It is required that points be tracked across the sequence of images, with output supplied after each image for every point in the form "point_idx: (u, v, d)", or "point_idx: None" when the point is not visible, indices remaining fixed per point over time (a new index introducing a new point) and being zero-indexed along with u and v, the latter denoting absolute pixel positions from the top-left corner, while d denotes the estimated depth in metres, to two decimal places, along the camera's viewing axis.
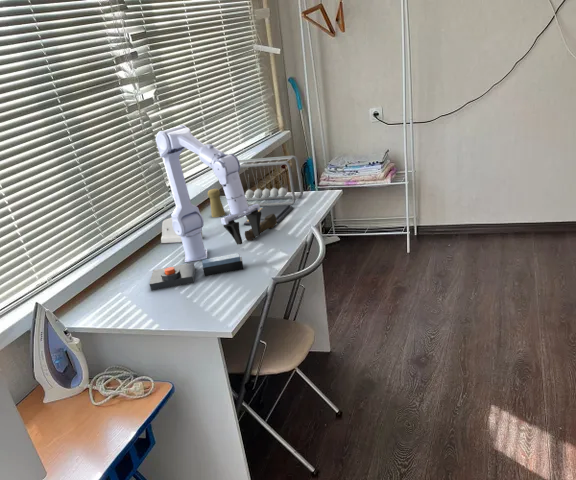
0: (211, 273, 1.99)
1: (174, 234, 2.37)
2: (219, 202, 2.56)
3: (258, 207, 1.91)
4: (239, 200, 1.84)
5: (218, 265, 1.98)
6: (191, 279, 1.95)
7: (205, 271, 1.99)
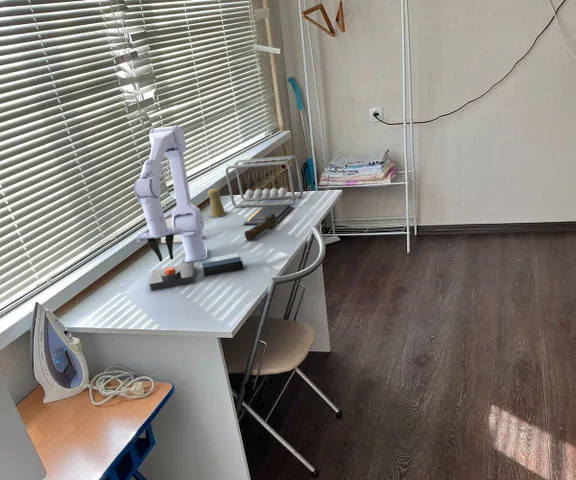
0: (211, 273, 1.99)
1: None
2: (219, 202, 2.56)
3: (180, 231, 1.89)
4: (152, 224, 1.85)
5: (218, 265, 1.98)
6: (191, 279, 1.95)
7: (205, 271, 1.99)
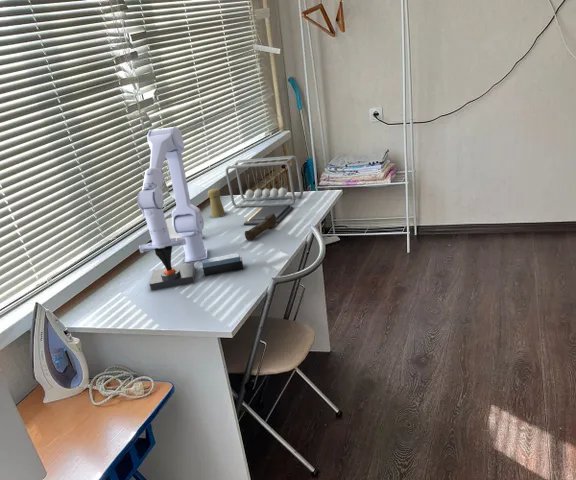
0: (211, 273, 1.99)
1: (174, 234, 2.37)
2: (219, 202, 2.56)
3: (182, 242, 1.91)
4: (155, 234, 1.87)
5: (218, 265, 1.98)
6: (191, 279, 1.95)
7: (205, 271, 1.99)
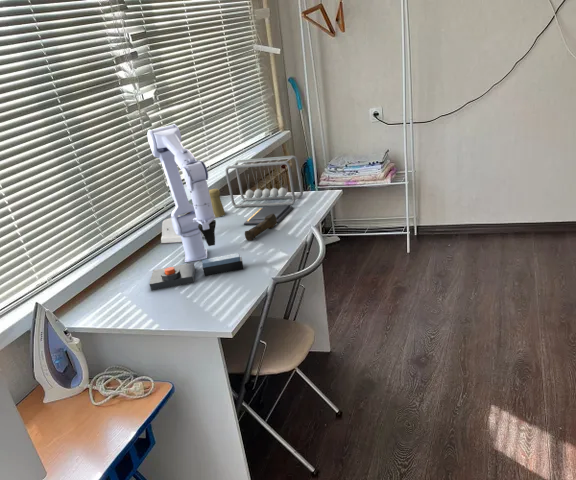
0: (211, 273, 1.99)
1: (174, 234, 2.37)
2: (219, 202, 2.56)
3: None
4: None
5: (218, 265, 1.98)
6: (191, 279, 1.95)
7: (205, 271, 1.99)
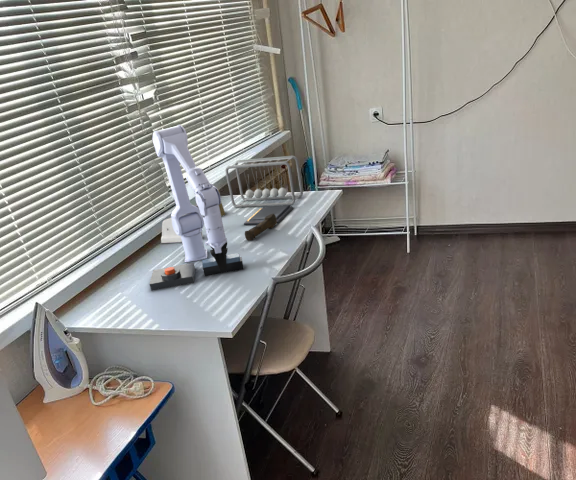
0: (211, 273, 1.99)
1: (174, 234, 2.37)
2: None
3: (214, 250, 1.91)
4: None
5: None
6: (191, 279, 1.95)
7: (205, 271, 1.99)
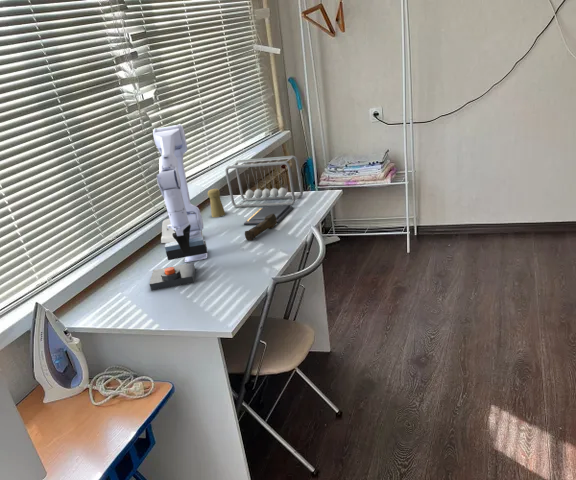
0: (174, 257, 1.97)
1: None
2: (219, 202, 2.56)
3: None
4: None
5: None
6: (191, 279, 1.95)
7: (168, 255, 1.97)
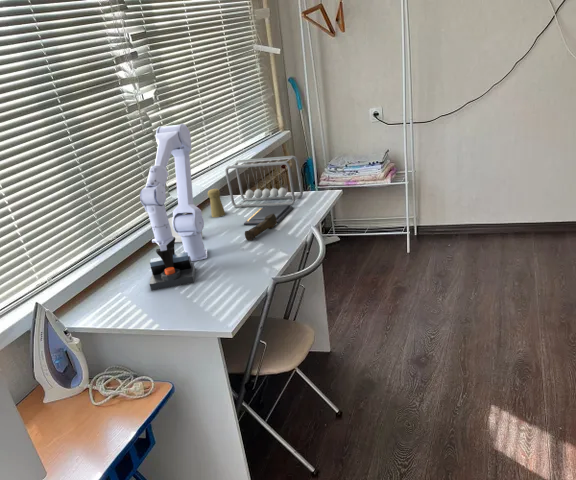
0: (159, 272, 2.01)
1: (174, 234, 2.37)
2: (219, 202, 2.56)
3: None
4: None
5: None
6: (191, 279, 1.95)
7: (153, 270, 2.00)
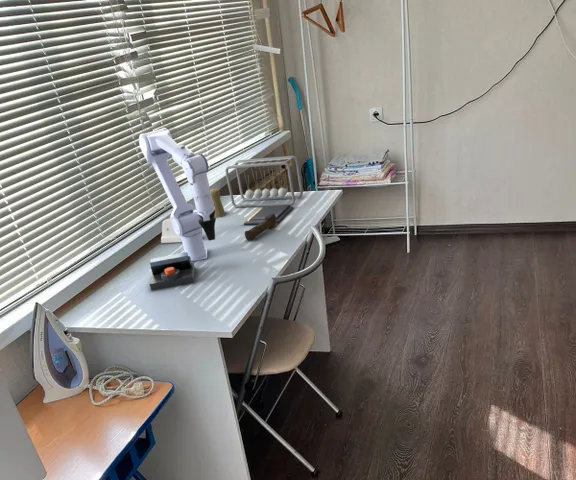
0: (159, 272, 2.01)
1: (174, 234, 2.37)
2: (219, 202, 2.56)
3: (203, 217, 1.91)
4: None
5: (165, 264, 2.00)
6: (191, 279, 1.95)
7: (153, 270, 2.00)
